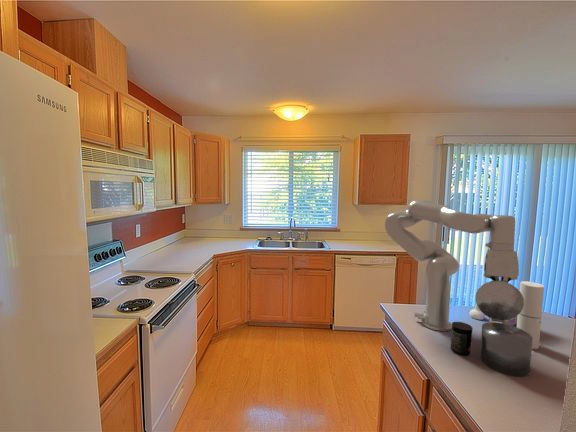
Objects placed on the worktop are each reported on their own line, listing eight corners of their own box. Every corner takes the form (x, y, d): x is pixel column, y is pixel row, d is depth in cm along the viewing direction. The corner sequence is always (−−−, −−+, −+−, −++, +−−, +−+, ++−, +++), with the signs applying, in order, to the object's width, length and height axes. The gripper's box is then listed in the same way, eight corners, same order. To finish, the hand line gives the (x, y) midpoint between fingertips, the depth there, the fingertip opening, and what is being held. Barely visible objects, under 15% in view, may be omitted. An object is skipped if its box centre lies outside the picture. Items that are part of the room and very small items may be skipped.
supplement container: (468, 359, 101) (470, 332, 100) (448, 351, 105) (449, 325, 105) (472, 351, 106) (474, 325, 105) (452, 344, 110) (454, 320, 109)
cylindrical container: (510, 339, 114) (515, 281, 112) (526, 339, 115) (531, 281, 113) (527, 349, 107) (532, 287, 105) (543, 348, 108) (549, 287, 106)
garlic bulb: (487, 321, 132) (490, 305, 131) (474, 320, 132) (477, 304, 131) (478, 315, 138) (481, 300, 137) (466, 314, 138) (468, 299, 137)
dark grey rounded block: (487, 371, 94) (489, 337, 93) (475, 349, 107) (477, 319, 106) (538, 381, 89) (541, 345, 88) (518, 356, 102) (521, 326, 101)
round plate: (475, 318, 107) (472, 315, 110) (522, 325, 101) (518, 321, 105) (477, 279, 105) (475, 277, 109) (525, 284, 100) (521, 281, 103)
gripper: (482, 247, 105) (480, 294, 106) (530, 249, 100) (527, 298, 102) (475, 244, 112) (474, 288, 113) (520, 246, 107) (518, 292, 109)
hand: (499, 293), depth 108 cm, fingers closed
